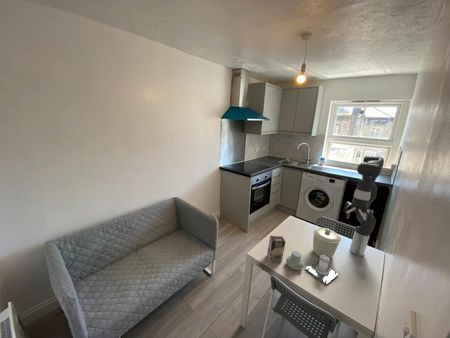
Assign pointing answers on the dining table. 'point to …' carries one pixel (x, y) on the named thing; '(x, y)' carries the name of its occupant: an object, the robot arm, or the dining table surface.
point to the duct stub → (323, 263)
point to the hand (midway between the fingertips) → (355, 221)
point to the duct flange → (323, 277)
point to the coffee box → (276, 248)
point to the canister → (325, 242)
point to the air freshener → (295, 261)
